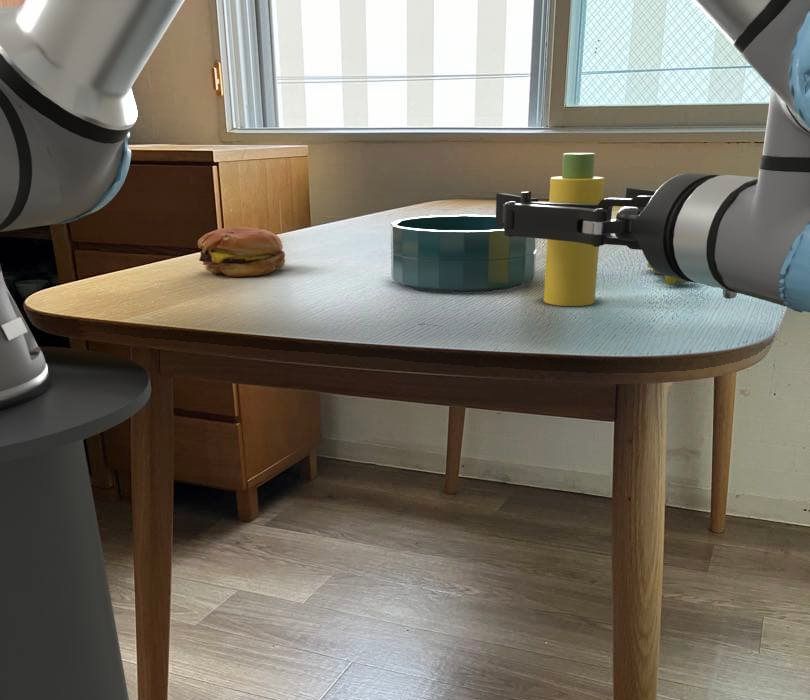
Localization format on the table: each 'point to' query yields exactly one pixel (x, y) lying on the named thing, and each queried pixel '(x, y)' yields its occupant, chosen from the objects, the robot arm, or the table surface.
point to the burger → (241, 251)
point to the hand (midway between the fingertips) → (565, 205)
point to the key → (667, 277)
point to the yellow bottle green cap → (573, 261)
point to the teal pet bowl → (459, 254)
